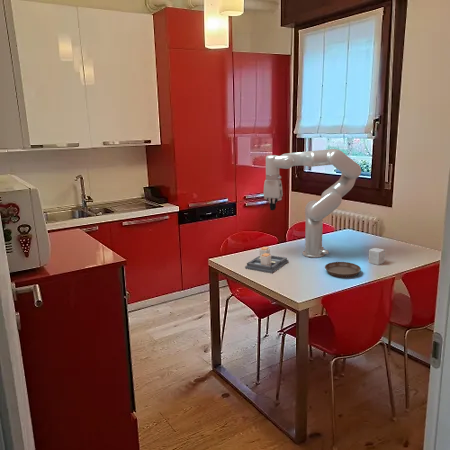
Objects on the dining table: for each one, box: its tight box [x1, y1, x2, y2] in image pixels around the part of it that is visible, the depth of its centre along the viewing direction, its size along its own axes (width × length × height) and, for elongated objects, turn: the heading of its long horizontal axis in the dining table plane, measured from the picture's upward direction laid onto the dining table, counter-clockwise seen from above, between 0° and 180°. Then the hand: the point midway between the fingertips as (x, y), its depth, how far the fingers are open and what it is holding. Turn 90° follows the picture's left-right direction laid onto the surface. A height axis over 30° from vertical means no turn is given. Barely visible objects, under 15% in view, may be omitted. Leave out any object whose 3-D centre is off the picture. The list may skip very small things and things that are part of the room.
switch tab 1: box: [261, 253, 272, 266], centre depth 229 cm, size 4×5×6 cm
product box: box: [368, 247, 386, 266], centre depth 232 cm, size 6×6×7 cm
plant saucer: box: [324, 261, 362, 278], centre depth 220 cm, size 18×18×3 cm
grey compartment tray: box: [244, 254, 289, 274], centre depth 234 cm, size 16×20×3 cm
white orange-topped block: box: [259, 246, 271, 258], centre depth 240 cm, size 4×5×6 cm
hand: (272, 209), depth 245 cm, fingers closed
